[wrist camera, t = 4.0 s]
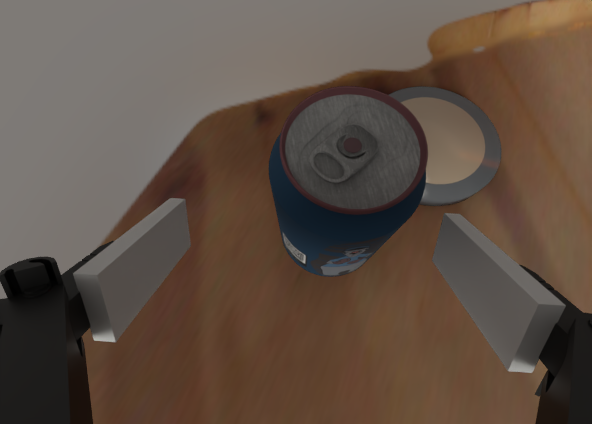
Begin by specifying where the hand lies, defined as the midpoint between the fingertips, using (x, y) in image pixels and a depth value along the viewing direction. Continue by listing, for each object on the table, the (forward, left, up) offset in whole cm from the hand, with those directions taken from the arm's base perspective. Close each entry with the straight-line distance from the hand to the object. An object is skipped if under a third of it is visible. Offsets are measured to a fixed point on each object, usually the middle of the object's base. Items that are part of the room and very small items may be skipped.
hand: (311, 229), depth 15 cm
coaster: (-12, -8, -7) cm, 16 cm away
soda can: (-2, -2, -7) cm, 8 cm away
